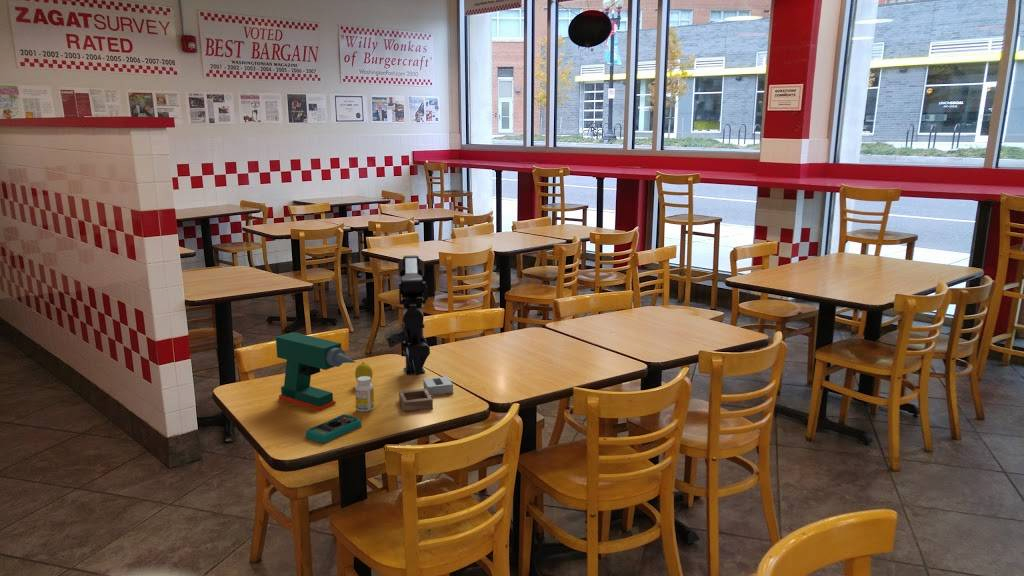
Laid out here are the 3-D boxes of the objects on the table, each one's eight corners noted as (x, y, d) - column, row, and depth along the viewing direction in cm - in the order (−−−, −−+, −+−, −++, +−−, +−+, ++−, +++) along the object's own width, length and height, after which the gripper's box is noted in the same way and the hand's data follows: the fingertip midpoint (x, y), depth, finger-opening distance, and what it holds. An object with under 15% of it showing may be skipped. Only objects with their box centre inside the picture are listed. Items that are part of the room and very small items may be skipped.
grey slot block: (423, 387, 233) (423, 378, 232) (447, 385, 235) (447, 376, 235) (428, 396, 225) (428, 387, 225) (453, 393, 228) (453, 384, 227)
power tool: (368, 413, 212) (365, 348, 208) (351, 421, 206) (347, 354, 202) (297, 391, 229) (293, 331, 225) (279, 398, 224) (274, 336, 220)
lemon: (365, 389, 231) (364, 365, 230) (352, 386, 234) (351, 363, 232) (376, 384, 236) (375, 361, 234) (363, 381, 239) (362, 358, 237)
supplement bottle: (361, 413, 212) (359, 382, 210) (352, 408, 216) (351, 377, 214) (377, 409, 215) (376, 378, 213) (369, 404, 219) (367, 374, 217)
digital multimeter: (363, 427, 203) (363, 417, 202) (322, 445, 191) (322, 435, 190) (345, 421, 207) (344, 412, 206) (304, 439, 195) (303, 429, 194)
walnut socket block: (399, 400, 222) (398, 391, 221) (426, 397, 224) (426, 388, 224) (404, 412, 212) (404, 402, 212) (432, 409, 215) (432, 399, 214)
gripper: (381, 314, 219) (383, 363, 222) (390, 330, 202) (392, 383, 205) (417, 311, 222) (419, 360, 226) (429, 327, 205) (431, 379, 208)
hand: (414, 370), depth 216 cm, fingers open, 9 cm apart
